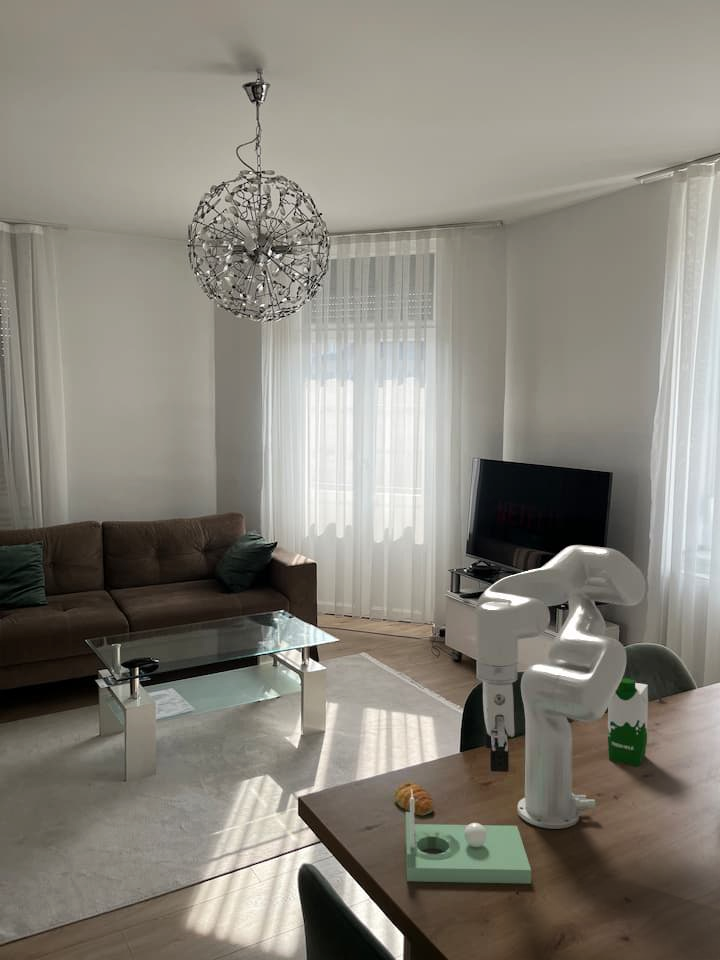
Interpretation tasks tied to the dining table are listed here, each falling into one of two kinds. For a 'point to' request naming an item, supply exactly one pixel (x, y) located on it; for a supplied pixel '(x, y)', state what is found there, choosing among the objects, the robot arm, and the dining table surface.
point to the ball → (475, 835)
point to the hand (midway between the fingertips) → (496, 759)
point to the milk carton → (628, 722)
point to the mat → (465, 855)
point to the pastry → (421, 798)
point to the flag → (412, 820)
